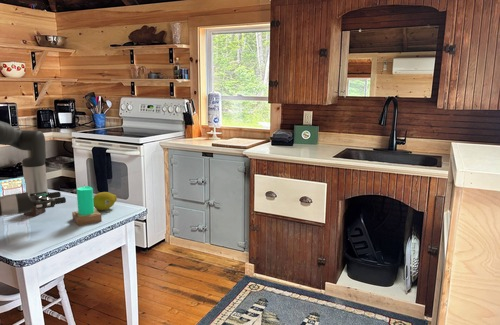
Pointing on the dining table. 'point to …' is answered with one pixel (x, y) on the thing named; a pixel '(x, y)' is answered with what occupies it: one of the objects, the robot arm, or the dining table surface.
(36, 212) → the box
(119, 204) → the dining table surface
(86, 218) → the stand
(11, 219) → the dining table surface
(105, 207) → the lemon
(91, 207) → the candle
